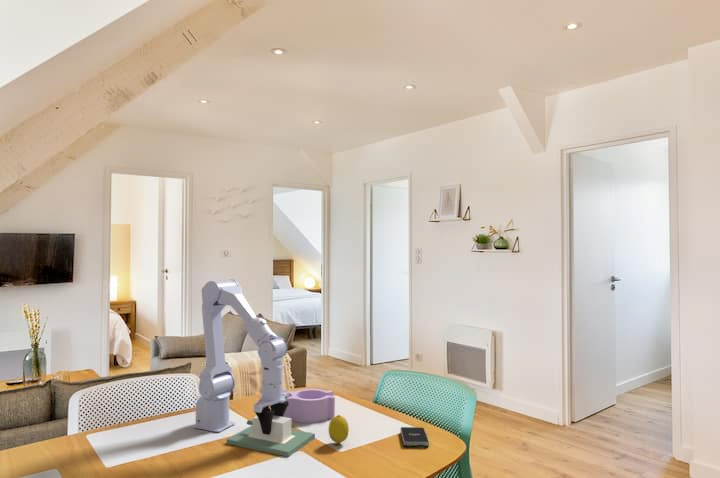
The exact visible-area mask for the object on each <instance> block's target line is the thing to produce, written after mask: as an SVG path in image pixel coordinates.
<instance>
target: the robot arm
mask: <svg viewBox="0 0 720 478" xmlns="http://www.w3.org/2000/svg"><path fill="white" fill-rule="evenodd" d="M200 291H201V300H202V304H201V313H202V326H203V337H204V347H205V349H204V350H205V360H206V361H205V362H206V366H205V367H204V368H203V370H202V371H201V372H200V373H199V378H200V379H199V383H198V391H199V394H200V396H199V397H198V399H197V401H196V404H195V425H193V428H194V429H200V430H205V431H210V432H214V433H220V432H222V431H224V430H226V429H227V428H229V427H231V426H234V425H236V422H235V421H230V395H232V391H234V389H235V387H236V380H235V376H234V375H233V369H232V366H230V365H229V364H227V362H226V354H225V344H224V333H223V322H222V311H223V309H224V308H225V307H226V306H229V307H231V308H232V309H233V310H234V312H236V314H237V315H238V316H239V317H240V318H241V319H242V321H243V322H244V323H245V324H246V328H245V331H246V332H247V334H248V335H249V337H250V338H251V339H252V341H253V342H254V343H255V345H256V346H257V348H258V349H257V354H258V357H259V359H260V365H261V368H262V369H261V397H260V399H258V401H257V402H256V403H255V404H253V413H255V416H257V417H258V419H259V421H260V425H261V429H262V433H263V434H267V435H269V434H270V432H271V424H272V418H273V415H275V416H281V417H283V416H284V413H285V410H286V408H287V406H288V405H289V402H288V401H286V399H287V398H289V392H290V391H288V390H283V389H284V387H283V383H284V382H283V381H284V375H283V374H284V357H285V356H286V355H287V353H288V345H287V342H286V341H285V339H284V338H283V337H281V336H278V335H276V334H275V333H274V331H273V330H272V329H271V328H270V327H269V325H268V322H267V320H266V319H264V318H263V317H262V318H261V317H257V315H256V314H255V313H254V311H253V309H252V308H251V306H250V305H249V303H248V300H246V298H245V296H244V294H243V288H242V287H241V286H240V284H239V283H238V281H236V280H235V279H227V280H209V281H207V282H206V283H205V284H204V285H203V287H202V288H201V290H200Z"/></svg>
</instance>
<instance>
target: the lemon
mask: <svg viewBox="0 0 720 478" xmlns="http://www.w3.org/2000/svg"><path fill="white" fill-rule="evenodd" d="M349 430H350V429H349V422H348V420H347V419H346V418H345V417H344V416H341V414H337V416H336V415H335V417H334V418H333V419H330V421H329V426H328V435H329V439H331V441H333V442H335V443H336V445H340V444H341V443H343V442H344V441H345V440H346V439H347V438H348V436H349Z"/></svg>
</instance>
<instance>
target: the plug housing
mask: <svg viewBox="0 0 720 478" xmlns="http://www.w3.org/2000/svg"><path fill="white" fill-rule="evenodd" d="M246 424H247V425H249V426H252V436H256V437H261V438H266V439H271V440H276V441H281V442H283V441H285V440H286V439H288V438H289V437H291V429H292V420H291V418H287V417H281V416H275V415H273V418H272V424H271V432H270V434H269V435H267V434H263V433H262V429H261V425H260V421H259V419H258V417H257V415H255V416H254V417H252V419H250V420H249V419H248V420H247V421H246Z"/></svg>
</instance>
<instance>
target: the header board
mask: <svg viewBox="0 0 720 478" xmlns="http://www.w3.org/2000/svg"><path fill="white" fill-rule="evenodd" d="M315 438H316V433H315V432H307V431H301V430H299V429H298V430H297V429H292V428H291V437H289V438H288V439H286V440H285V441H283V442H281V441H276V440H271V439H266V438H261V437H256V436H252V425H249V426H248V427H247V428H244V429H242V430H241V431H239V432H237V433H236V434H233V435H231V436H229V437H228V438H226V445H233V446H237V447H241V448H245V449H249V450H255V451H260V452H265V453H270V454H273V455H277V456H283V457H288V458H289V457H290V456H292V455H293V454H295V453H296V452H297V451H299V450H300V449H302V448H303V447H304V446H306V445H307V444H309V443H310V442H311V441H312V440H315Z"/></svg>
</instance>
